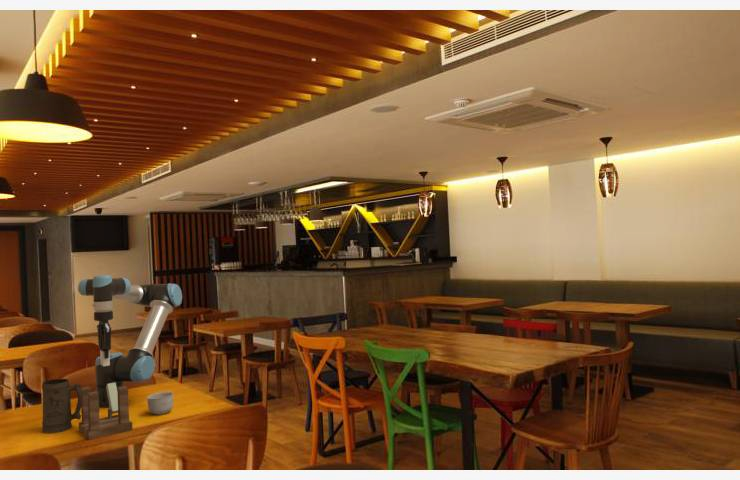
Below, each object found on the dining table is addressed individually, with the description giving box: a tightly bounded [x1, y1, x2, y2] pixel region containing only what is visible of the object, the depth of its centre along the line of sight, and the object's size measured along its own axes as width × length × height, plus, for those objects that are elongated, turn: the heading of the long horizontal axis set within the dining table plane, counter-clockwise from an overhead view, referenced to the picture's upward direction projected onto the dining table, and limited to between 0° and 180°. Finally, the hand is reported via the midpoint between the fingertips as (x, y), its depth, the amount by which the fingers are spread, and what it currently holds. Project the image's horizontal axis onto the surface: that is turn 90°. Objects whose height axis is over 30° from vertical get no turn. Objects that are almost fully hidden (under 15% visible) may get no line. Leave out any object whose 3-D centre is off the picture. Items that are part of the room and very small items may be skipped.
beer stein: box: [41, 378, 82, 434], centre depth 236 cm, size 15×11×20 cm
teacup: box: [146, 391, 174, 416], centre depth 254 cm, size 14×11×8 cm
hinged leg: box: [106, 382, 118, 415], centre depth 241 cm, size 3×3×12 cm
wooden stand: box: [78, 385, 133, 441], centre depth 231 cm, size 16×16×17 cm
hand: (105, 365), depth 249 cm, fingers open, 3 cm apart
